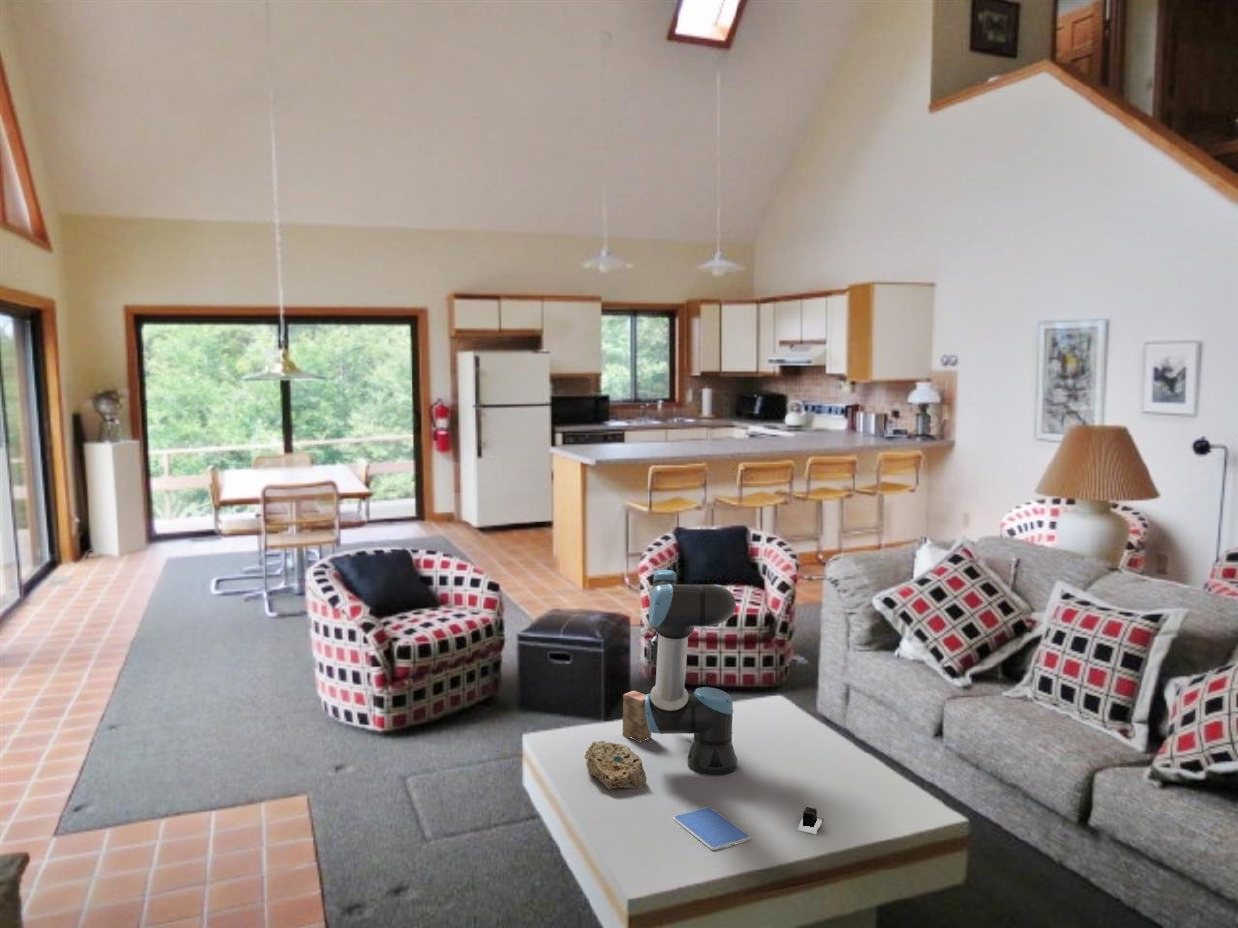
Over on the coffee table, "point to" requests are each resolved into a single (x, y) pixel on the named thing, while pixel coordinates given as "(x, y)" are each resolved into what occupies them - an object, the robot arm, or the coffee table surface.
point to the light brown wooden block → (635, 716)
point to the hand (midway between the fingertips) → (662, 683)
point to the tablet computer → (711, 828)
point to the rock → (615, 765)
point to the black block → (809, 816)
